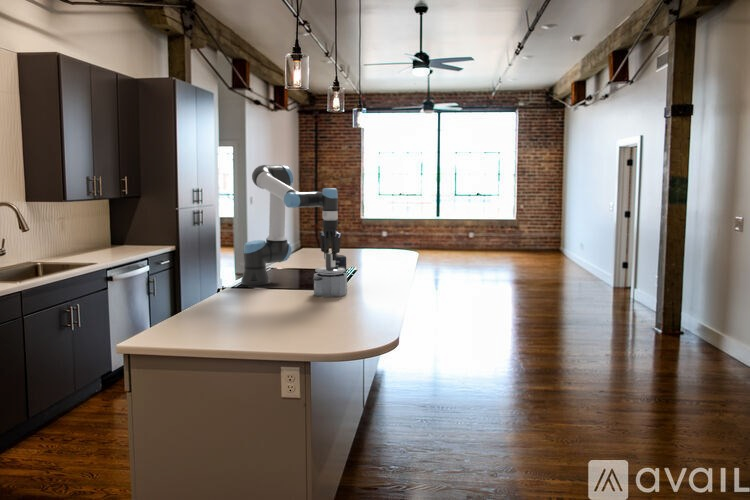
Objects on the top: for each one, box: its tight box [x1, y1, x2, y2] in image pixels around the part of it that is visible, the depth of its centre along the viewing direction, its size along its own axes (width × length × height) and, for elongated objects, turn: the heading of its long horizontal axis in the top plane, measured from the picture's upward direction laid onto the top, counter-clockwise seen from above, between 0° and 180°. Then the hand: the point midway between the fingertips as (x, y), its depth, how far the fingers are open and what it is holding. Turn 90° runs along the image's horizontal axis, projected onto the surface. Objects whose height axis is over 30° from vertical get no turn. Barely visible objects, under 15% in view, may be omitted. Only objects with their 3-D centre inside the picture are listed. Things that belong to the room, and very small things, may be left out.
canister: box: [335, 253, 348, 274], centre depth 320 cm, size 10×10×18 cm
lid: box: [314, 252, 345, 277], centre depth 301 cm, size 15×15×11 cm
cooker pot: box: [312, 272, 348, 298], centre depth 302 cm, size 16×22×10 cm
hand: (330, 266), depth 301 cm, fingers closed on lid, 3 cm apart
